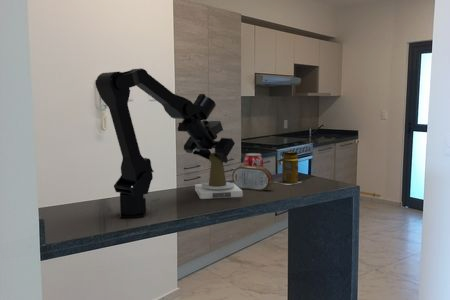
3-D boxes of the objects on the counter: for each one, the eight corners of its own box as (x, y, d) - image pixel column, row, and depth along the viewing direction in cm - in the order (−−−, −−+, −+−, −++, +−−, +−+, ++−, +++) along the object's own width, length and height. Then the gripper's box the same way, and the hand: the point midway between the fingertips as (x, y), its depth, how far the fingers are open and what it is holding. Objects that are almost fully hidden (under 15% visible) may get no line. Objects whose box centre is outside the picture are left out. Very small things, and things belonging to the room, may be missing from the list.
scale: (200, 199, 132) (200, 190, 132) (195, 190, 146) (195, 181, 146) (242, 197, 135) (242, 188, 135) (233, 188, 149) (233, 180, 149)
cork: (227, 186, 138) (227, 153, 136) (209, 187, 137) (208, 154, 135) (224, 182, 144) (224, 151, 142) (207, 183, 143) (206, 151, 141)
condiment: (302, 182, 160) (303, 151, 158) (289, 185, 154) (289, 153, 152) (287, 180, 165) (287, 150, 163) (274, 182, 159) (274, 152, 158)
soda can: (266, 185, 154) (266, 153, 152) (257, 188, 148) (257, 155, 146) (249, 183, 157) (249, 152, 156) (240, 186, 151) (240, 154, 150)
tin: (272, 190, 145) (273, 167, 144) (269, 192, 142) (269, 168, 141) (235, 186, 152) (234, 164, 151) (231, 188, 149) (231, 165, 148)
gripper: (231, 112, 129) (252, 145, 138) (189, 112, 141) (211, 142, 150) (214, 139, 124) (237, 171, 133) (172, 136, 136) (196, 165, 145)
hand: (220, 161), depth 141 cm, fingers open, 6 cm apart
